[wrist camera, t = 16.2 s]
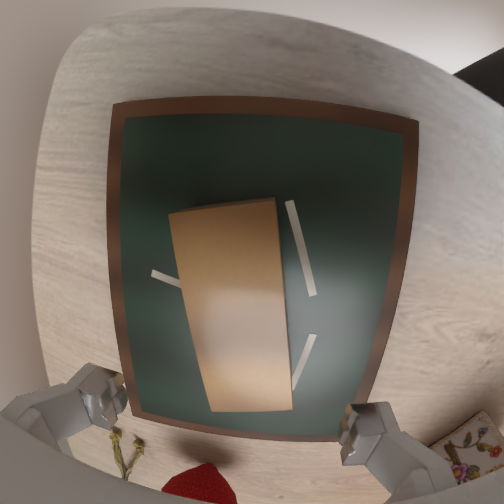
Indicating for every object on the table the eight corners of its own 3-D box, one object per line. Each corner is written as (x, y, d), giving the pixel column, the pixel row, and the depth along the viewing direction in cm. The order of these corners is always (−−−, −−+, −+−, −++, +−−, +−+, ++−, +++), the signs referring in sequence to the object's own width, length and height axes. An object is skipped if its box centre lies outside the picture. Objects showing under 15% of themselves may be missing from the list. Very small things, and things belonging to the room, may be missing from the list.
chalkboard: (120, 106, 17) (111, 103, 16) (412, 123, 16) (420, 120, 15) (136, 409, 23) (131, 417, 22) (348, 433, 22) (350, 442, 21)
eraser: (191, 206, 17) (167, 214, 13) (275, 196, 17) (274, 200, 13) (222, 375, 20) (211, 411, 16) (291, 372, 19) (293, 410, 15)
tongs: (119, 475, 28) (114, 485, 26) (114, 422, 25) (106, 433, 23) (147, 487, 28) (142, 497, 26) (148, 437, 25) (142, 449, 23)
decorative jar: (489, 443, 22) (533, 528, 5) (418, 488, 25) (444, 581, 7) (483, 405, 21) (550, 514, 3) (396, 461, 23) (429, 588, 5)
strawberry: (180, 438, 24) (150, 517, 14) (252, 460, 24) (241, 541, 14) (171, 464, 25) (145, 531, 16) (234, 483, 25) (222, 553, 16)
